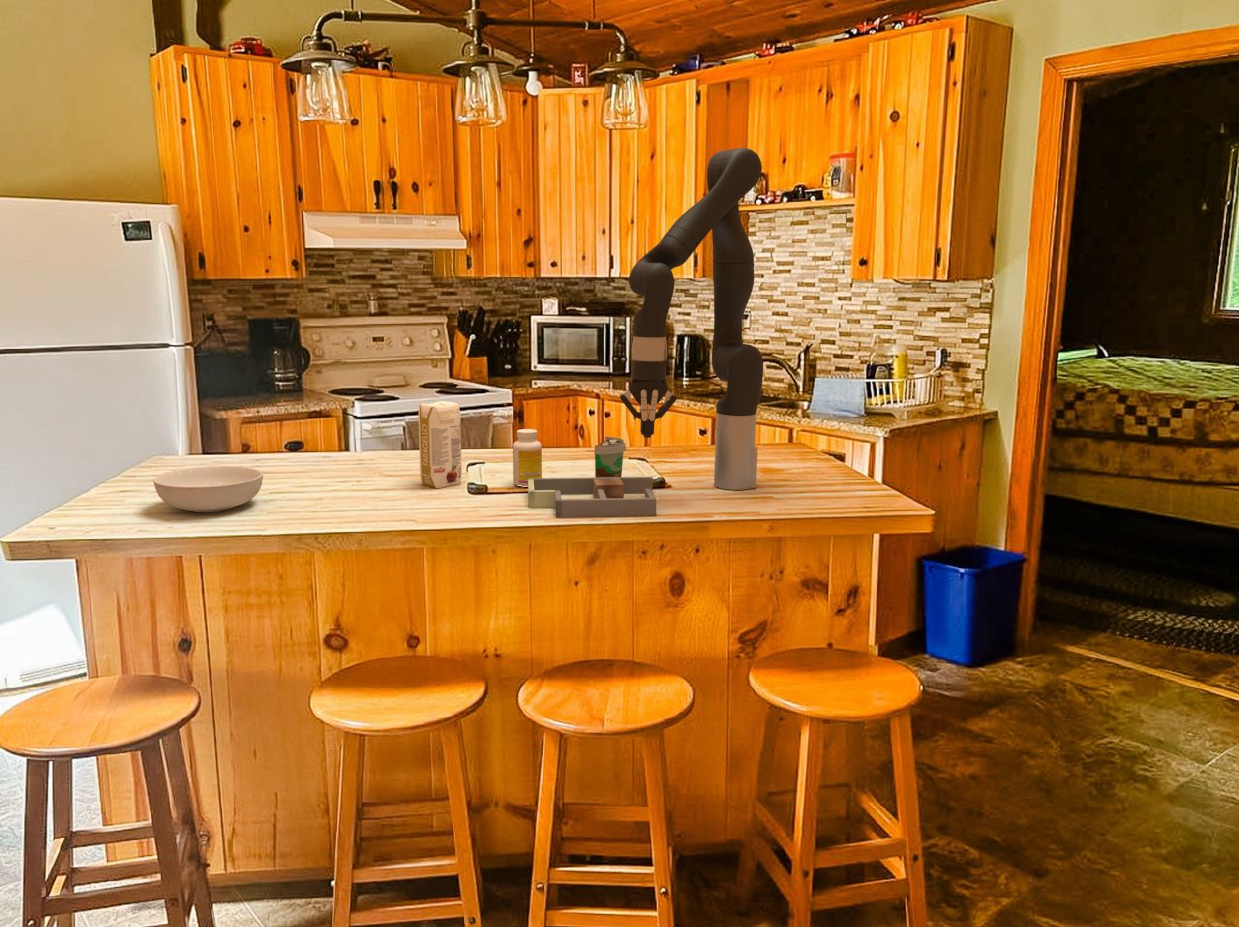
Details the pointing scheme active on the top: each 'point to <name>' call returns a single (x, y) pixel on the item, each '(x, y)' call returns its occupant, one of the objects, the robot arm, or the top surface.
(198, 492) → the serving bowl
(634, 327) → the robot arm
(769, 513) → the top surface
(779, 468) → the top surface
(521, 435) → the supplement bottle
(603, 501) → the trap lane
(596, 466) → the food container
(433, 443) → the juice carton
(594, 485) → the walnut block
